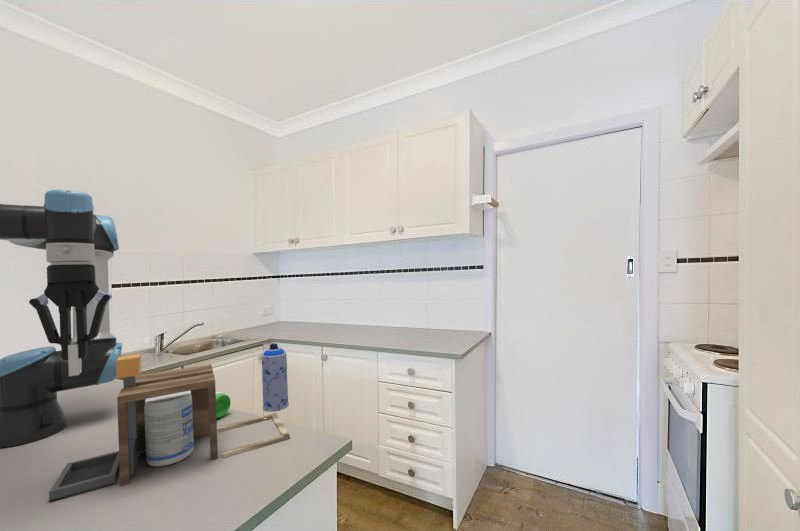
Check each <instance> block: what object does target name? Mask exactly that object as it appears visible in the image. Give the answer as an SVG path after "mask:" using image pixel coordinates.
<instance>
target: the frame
mask: <svg viewBox="0 0 800 531" xmlns="http://www.w3.org/2000/svg"><path fill="white" fill-rule="evenodd" d="M261 417H263V418H261ZM264 418H267V420H266V419H265V420H263V419H264ZM268 420H272V423H273V424H274V426H275V427H276V429H277V431H278V433H279V434H280V435H277V436H274V437H269V438H266V439H263V440H262V439H261V440H259V441H256V442H252V443H249V444H248V443H247V444H245V445H240V446H237V447H235V448H230V449H227V450H223V451H222V452H221V453H222V454H221V455H222V458H224V459H225V458H227V457H230V456H231V457H232V456H233V455H234V456H235V455H237V454H240V453H245V452H248V451H251V450H255V449H260V448H262V447H263V448H264V447H265V446H270V445H273V444H277V443H280V442H283V441H287V440H290V439H291V435H290V433H289V432H288V430H287V428H286V427H285V425H284V423H283V422H282V420H281V419H280V417H279V416H278V414H277V413H276V412H272V413H269V414H265V415H261V416H258V417H256V416H255V417H253V418H249V419H244V420H240V421H236V422H232V423H228V424H225V425H218V426H217V433H219V432H223V431H227V430H232V429H235V428H239V427H243V426H244V427H245V426H248V425H251V424H255V423H259V422H264V421H268ZM273 420H274V421H273ZM276 421H278V422H276ZM280 422H282V423H280Z"/></svg>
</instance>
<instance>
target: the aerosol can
mask: <svg viewBox="0 0 800 531" xmlns="http://www.w3.org/2000/svg"><path fill="white" fill-rule="evenodd" d="M287 356H288V355H287V353H286V351H285V350H284V349H283V348H281V347H279V346H278V343H270V344H269V348H267V349H266V350H265V351H264V352H263V353H262V356H261V376H262V379H261V380H262V403H263V404H262V405H263V406H262V410H263V411H264V412H268V413H276V412H279V411H283V410H285V409H286V408H288V407H289V404H290V403H289V391H288V388H289V386H288V363H287V362H288V361H287V360H288V358H287Z"/></svg>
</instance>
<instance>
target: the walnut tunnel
mask: <svg viewBox="0 0 800 531" xmlns="http://www.w3.org/2000/svg"><path fill="white" fill-rule="evenodd" d="M185 391H191V396H192V414H193V440H194V439H199V438H203V437H207V436H209V455H210V456H209V457H210V461H213V460H216V459H218V458H219V450H218V448H219V447H218V428H217V427H218V422H217V421H218V420H217V419H218V418H217V416H216V377H215V374H214V369H213V366H212V364H203V365H197V366H191V367H185V368H179V369H173V370H172V369H171V370H165V371H159V372H153V373H147V374H140V375H137V376H136V386H135V387H129V388H124V387H123V388H120V391H119V393H118V394H117V397H116V403H117V406H116V407H117V431H118V433H117V434H118V436H117V437H118V451H119V466H120V472H119V486H120V487H122V486H125V485H128V484H129V485H130V482H131V475H130V456H129V428H128V402H132V401H136V402H137V427H139V436H140V453H142V452H146V441H145V415H144V406H145V399H148V398H153V397H158V396H164V395H169V394H174V393H180V392H185Z"/></svg>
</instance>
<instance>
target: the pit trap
mask: <svg viewBox="0 0 800 531" xmlns="http://www.w3.org/2000/svg"><path fill="white" fill-rule="evenodd" d="M119 476H120V466H119V450H117V451H112V452H109V453H108V452H107V453H105V454H99V455H96V456H92V457H89V458H83V459H80V460H76V461H71V462H67V463H66V465H65V466H64V468H63V469H62V471H61V473H60V474H59V475H58V477H57V479H56V480H55V482H54V484H53V486H52V487H51V489H50V490H49V492H48V496H49V497H48V498H49V499H48V500H49V503H53V502H56V501H59V500H63V499H68V498H70V497H74V496H77V495H81V494H85V493H87V492H92V491H95V490H99V489H103V488H106V487H109V486H113V485H116V483H117V480H118V477H119Z"/></svg>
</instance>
